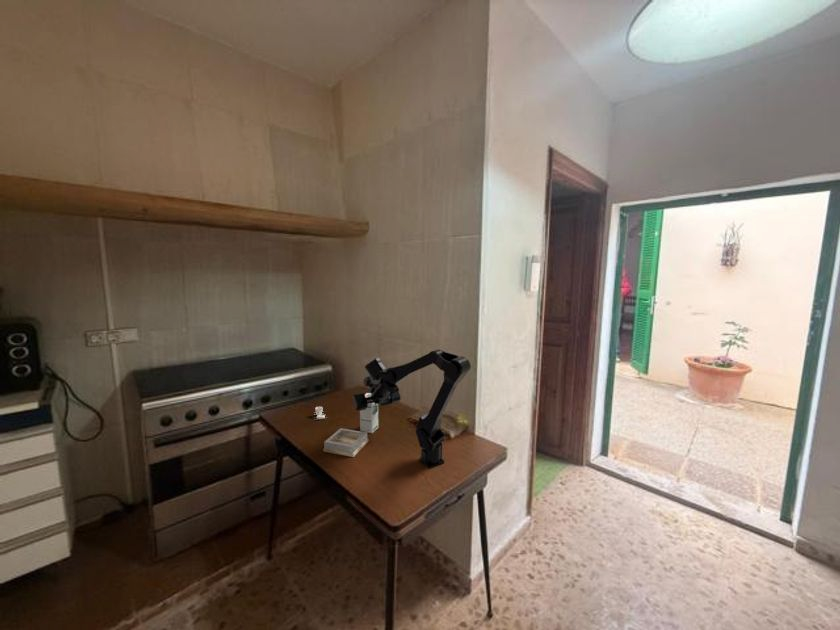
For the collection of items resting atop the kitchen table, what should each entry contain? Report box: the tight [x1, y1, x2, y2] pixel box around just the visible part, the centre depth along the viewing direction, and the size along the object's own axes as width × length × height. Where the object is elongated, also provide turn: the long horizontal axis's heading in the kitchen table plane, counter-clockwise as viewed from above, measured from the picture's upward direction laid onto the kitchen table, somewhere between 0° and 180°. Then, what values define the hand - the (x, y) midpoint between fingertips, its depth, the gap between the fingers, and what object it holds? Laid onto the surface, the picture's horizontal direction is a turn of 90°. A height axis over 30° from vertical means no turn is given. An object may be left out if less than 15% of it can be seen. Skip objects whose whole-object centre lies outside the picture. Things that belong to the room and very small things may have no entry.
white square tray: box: [322, 427, 369, 458], centre depth 122 cm, size 12×12×4 cm
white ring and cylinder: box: [315, 406, 326, 420], centre depth 148 cm, size 9×8×4 cm
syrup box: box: [359, 392, 380, 434], centre depth 135 cm, size 6×6×14 cm
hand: (370, 407), depth 134 cm, fingers open, 9 cm apart
